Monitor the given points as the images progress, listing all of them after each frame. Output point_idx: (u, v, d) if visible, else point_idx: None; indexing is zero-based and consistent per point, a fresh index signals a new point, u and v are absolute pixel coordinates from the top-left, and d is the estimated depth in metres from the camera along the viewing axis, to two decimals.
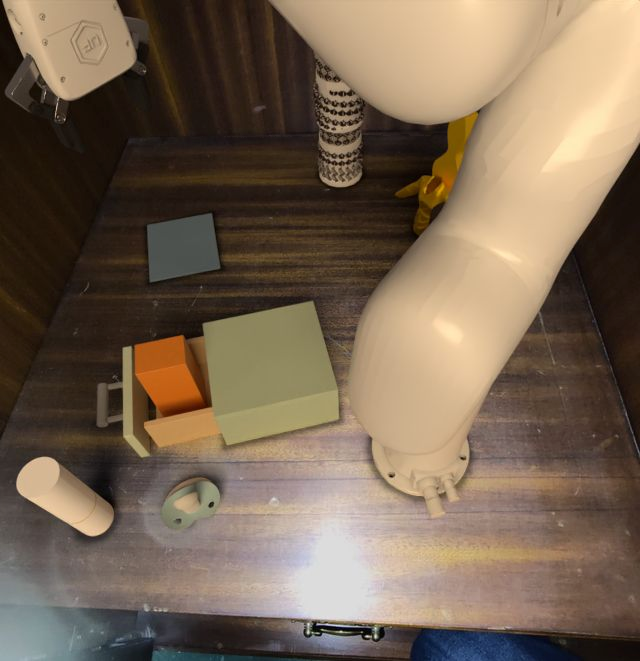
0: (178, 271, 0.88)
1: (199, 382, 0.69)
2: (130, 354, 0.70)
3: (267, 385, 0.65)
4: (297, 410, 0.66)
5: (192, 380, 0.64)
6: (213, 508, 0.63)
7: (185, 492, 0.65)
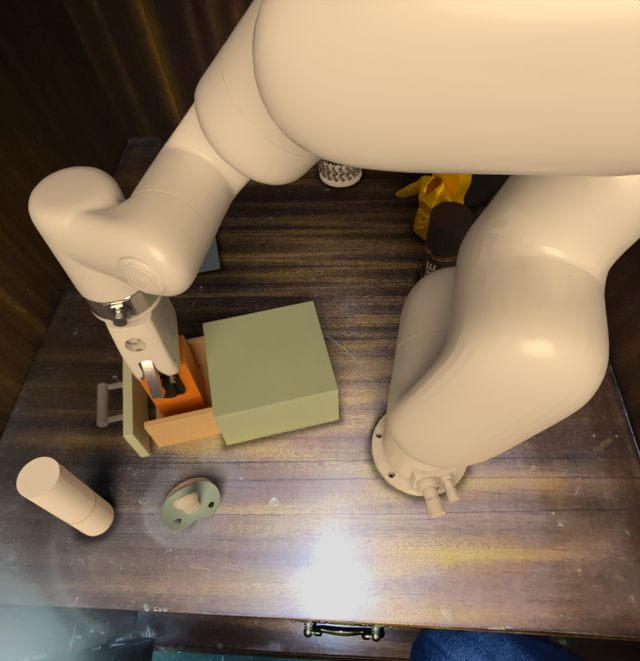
0: None
1: (199, 382, 0.69)
2: None
3: (267, 385, 0.65)
4: (297, 410, 0.66)
5: (192, 380, 0.64)
6: (213, 508, 0.63)
7: (185, 492, 0.65)
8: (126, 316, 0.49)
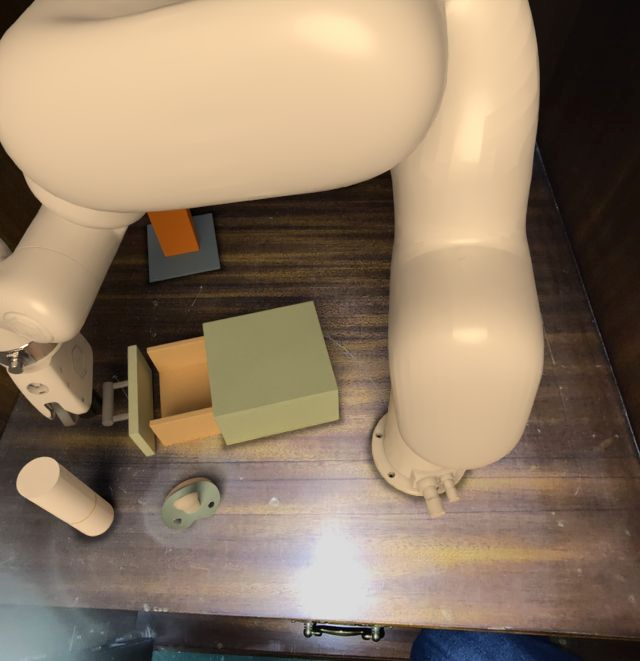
0: (178, 271, 0.88)
1: (193, 226, 0.88)
2: (135, 353, 0.70)
3: (267, 385, 0.65)
4: (297, 410, 0.66)
5: (187, 217, 0.84)
6: (213, 508, 0.63)
7: (185, 492, 0.65)
8: (22, 364, 0.51)
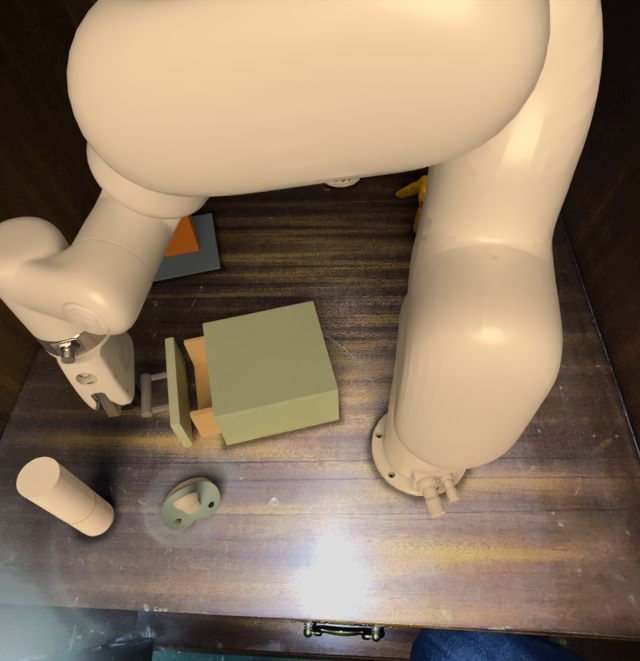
0: (178, 271, 0.88)
1: (193, 226, 0.88)
2: (172, 345, 0.70)
3: (267, 385, 0.65)
4: (297, 410, 0.66)
5: (187, 217, 0.84)
6: (213, 508, 0.63)
7: (185, 492, 0.65)
8: (74, 354, 0.51)
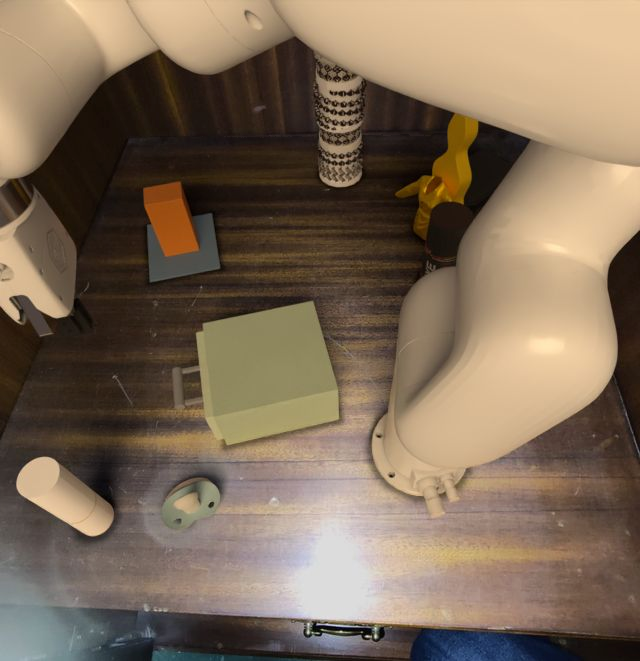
0: (178, 271, 0.88)
1: (193, 226, 0.88)
2: None
3: (267, 385, 0.65)
4: (297, 410, 0.66)
5: (187, 217, 0.84)
6: (213, 508, 0.63)
7: (185, 492, 0.65)
8: None
